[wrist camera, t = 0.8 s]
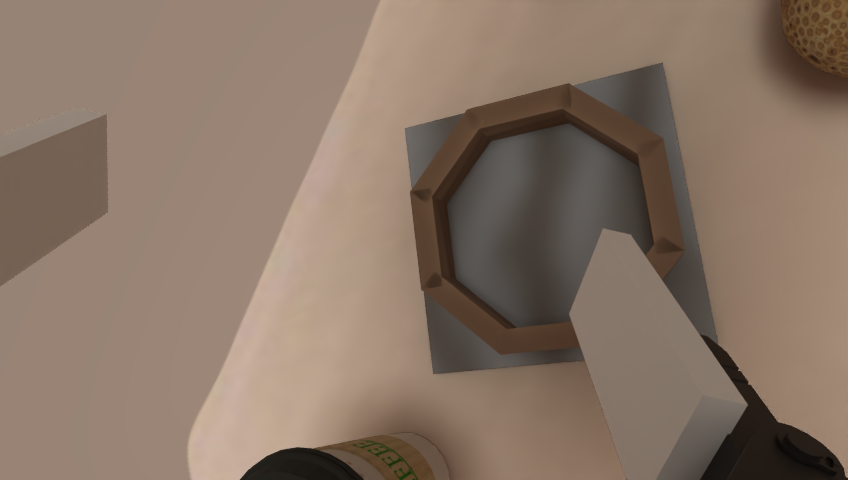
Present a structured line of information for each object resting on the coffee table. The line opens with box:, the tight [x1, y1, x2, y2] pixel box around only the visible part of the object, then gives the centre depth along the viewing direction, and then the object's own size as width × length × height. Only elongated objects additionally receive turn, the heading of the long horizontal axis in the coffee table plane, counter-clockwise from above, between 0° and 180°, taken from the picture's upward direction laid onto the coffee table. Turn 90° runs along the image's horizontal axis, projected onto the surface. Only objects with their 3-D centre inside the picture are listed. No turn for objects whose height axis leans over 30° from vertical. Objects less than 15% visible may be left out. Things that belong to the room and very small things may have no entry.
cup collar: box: [405, 63, 718, 374], centre depth 37 cm, size 18×18×4 cm
